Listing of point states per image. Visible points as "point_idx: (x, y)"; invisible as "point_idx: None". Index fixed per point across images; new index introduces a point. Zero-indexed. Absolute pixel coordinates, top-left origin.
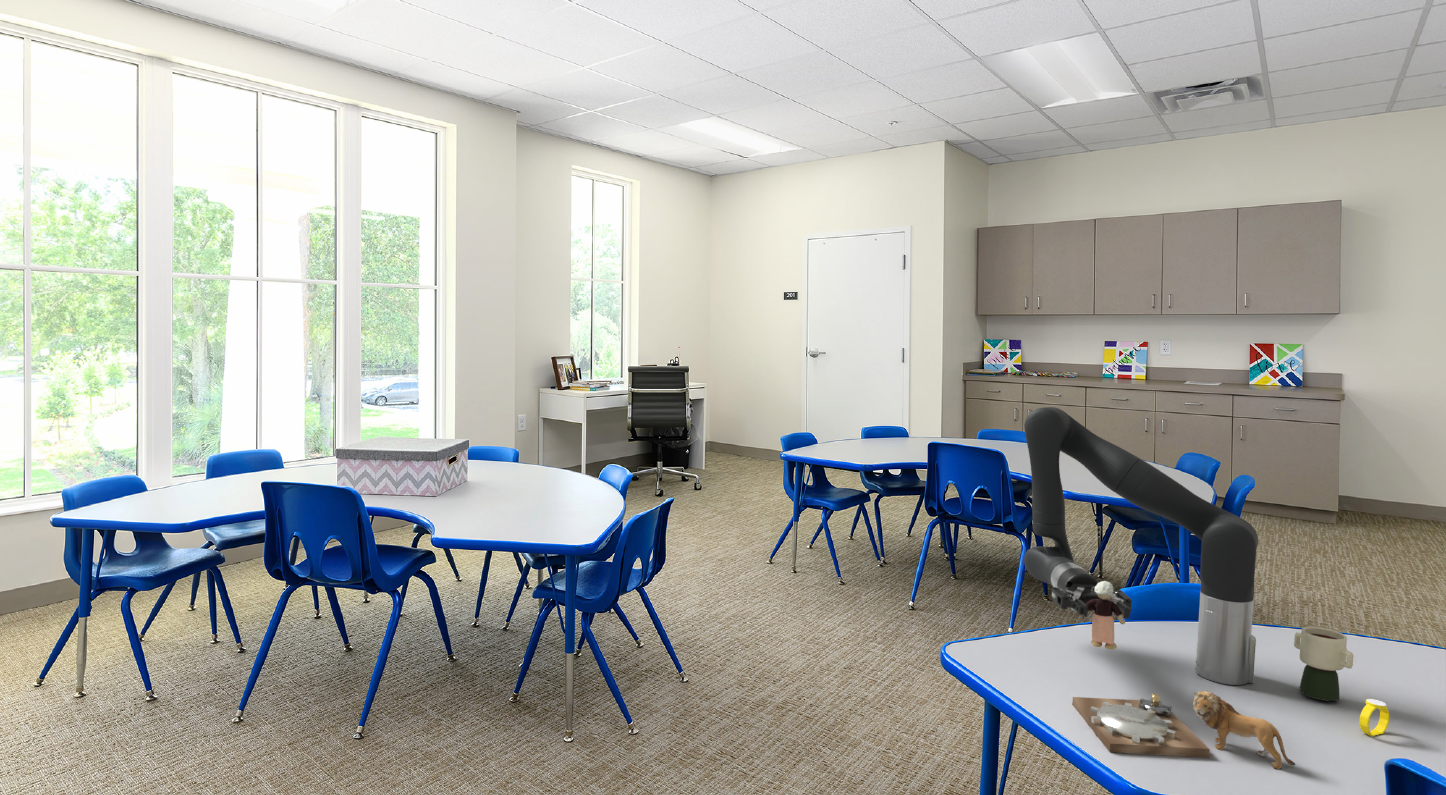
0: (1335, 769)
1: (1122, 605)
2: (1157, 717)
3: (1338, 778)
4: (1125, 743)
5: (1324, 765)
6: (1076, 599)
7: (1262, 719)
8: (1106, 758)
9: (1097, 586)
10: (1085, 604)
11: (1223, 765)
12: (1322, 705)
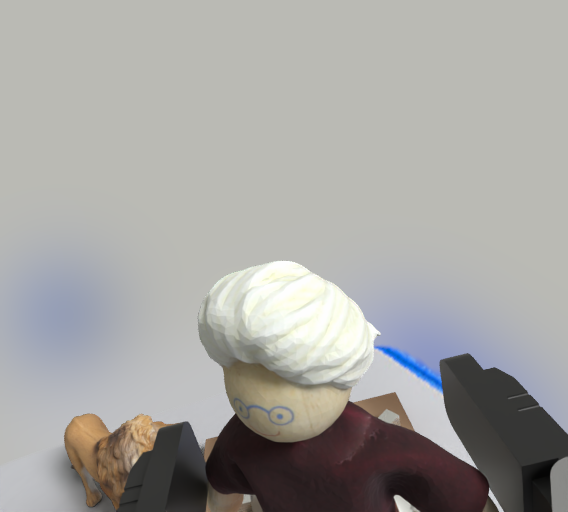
0: (3, 492)
1: (175, 456)
2: (258, 509)
3: (33, 463)
4: (364, 402)
5: (7, 500)
6: (565, 458)
7: (77, 422)
8: (404, 387)
9: (342, 291)
10: (458, 377)
11: (201, 437)
12: None
